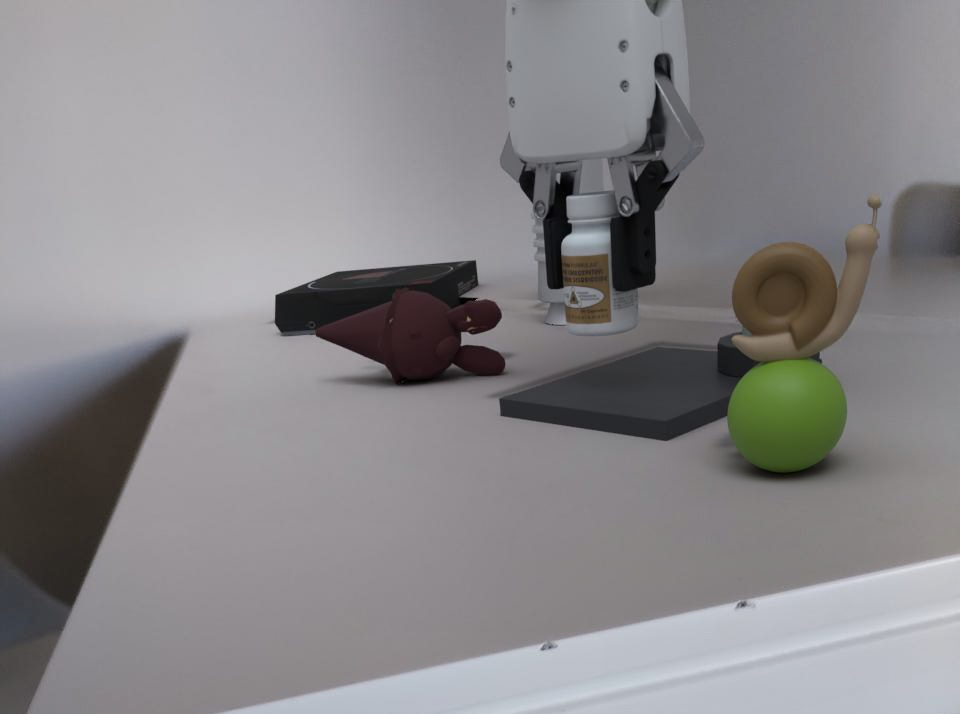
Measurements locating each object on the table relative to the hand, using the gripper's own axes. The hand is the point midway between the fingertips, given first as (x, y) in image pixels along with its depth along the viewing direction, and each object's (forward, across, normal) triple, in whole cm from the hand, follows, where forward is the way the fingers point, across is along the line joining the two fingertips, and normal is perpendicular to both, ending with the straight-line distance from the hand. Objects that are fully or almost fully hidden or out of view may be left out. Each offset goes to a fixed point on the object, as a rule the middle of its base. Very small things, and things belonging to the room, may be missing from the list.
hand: (600, 283), depth 62 cm
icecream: (+8, +19, 0) cm, 20 cm away
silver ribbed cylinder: (+8, +24, -24) cm, 35 cm away
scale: (+7, -2, -3) cm, 8 cm away
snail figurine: (+8, -17, +6) cm, 20 cm away
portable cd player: (+8, +48, -20) cm, 53 cm away
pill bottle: (+3, 0, 0) cm, 3 cm away
